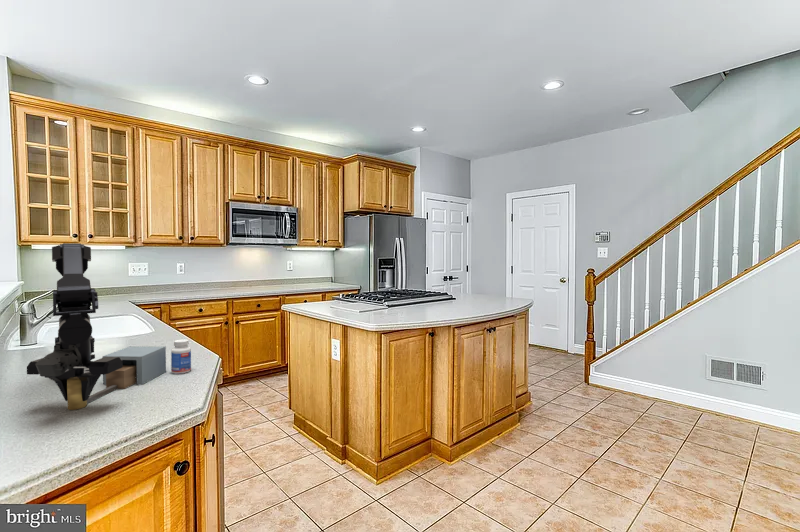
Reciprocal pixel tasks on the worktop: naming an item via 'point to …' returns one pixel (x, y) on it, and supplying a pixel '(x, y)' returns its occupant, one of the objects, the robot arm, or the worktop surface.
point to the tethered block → (113, 381)
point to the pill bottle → (181, 357)
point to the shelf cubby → (142, 361)
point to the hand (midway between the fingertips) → (76, 400)
